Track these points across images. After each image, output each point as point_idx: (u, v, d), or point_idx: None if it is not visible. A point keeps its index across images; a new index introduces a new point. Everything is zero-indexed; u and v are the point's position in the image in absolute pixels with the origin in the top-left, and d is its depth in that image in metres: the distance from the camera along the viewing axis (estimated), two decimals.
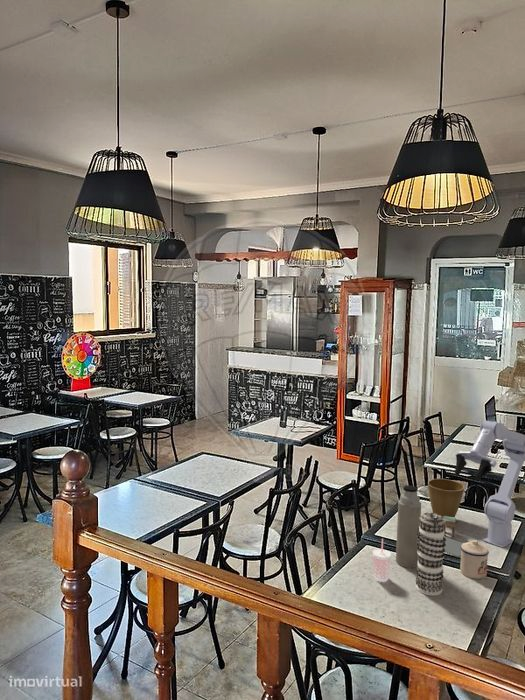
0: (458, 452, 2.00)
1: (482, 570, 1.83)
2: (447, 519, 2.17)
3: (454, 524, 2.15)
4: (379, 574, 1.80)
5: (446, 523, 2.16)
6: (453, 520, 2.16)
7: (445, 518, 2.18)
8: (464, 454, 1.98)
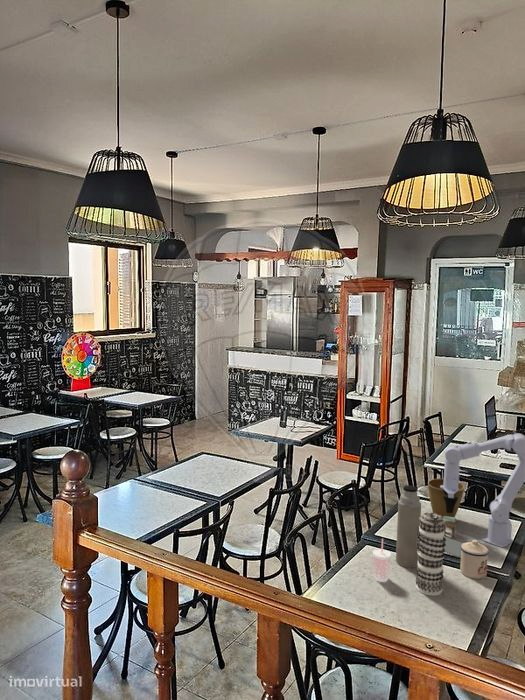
0: None
1: (482, 570, 1.83)
2: (447, 519, 2.17)
3: (454, 524, 2.15)
4: (379, 574, 1.80)
5: (446, 523, 2.16)
6: (453, 520, 2.16)
7: (445, 518, 2.18)
8: None
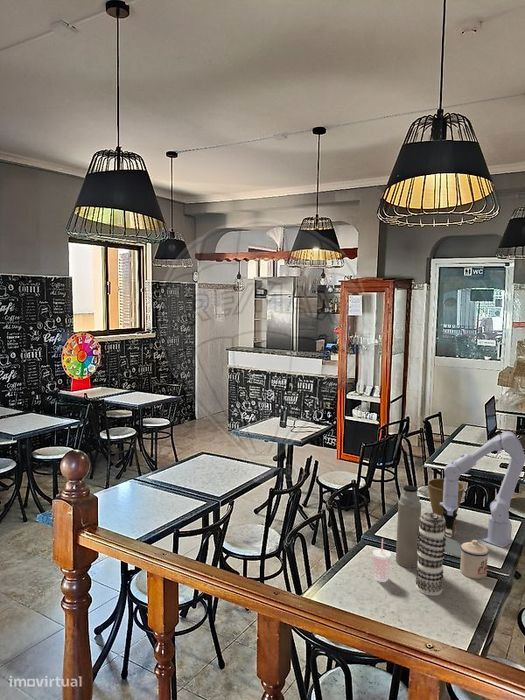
0: None
1: (482, 570, 1.83)
2: None
3: (454, 524, 2.15)
4: (379, 574, 1.80)
5: None
6: None
7: None
8: None
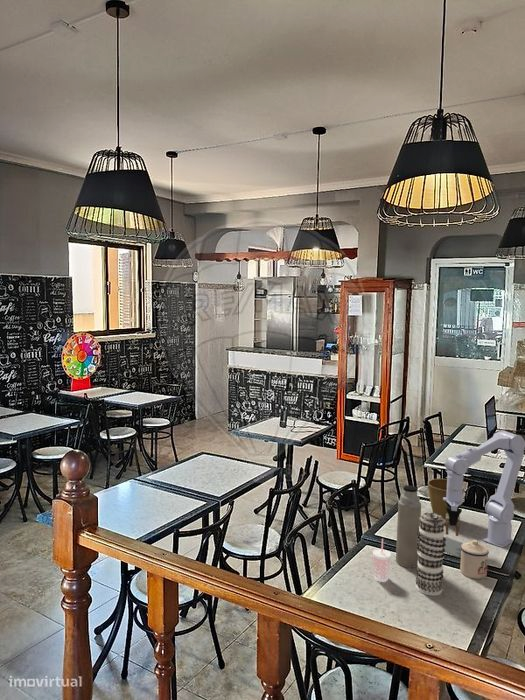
0: None
1: (482, 570, 1.83)
2: None
3: (458, 522, 2.03)
4: (379, 574, 1.80)
5: None
6: None
7: (448, 516, 2.06)
8: None
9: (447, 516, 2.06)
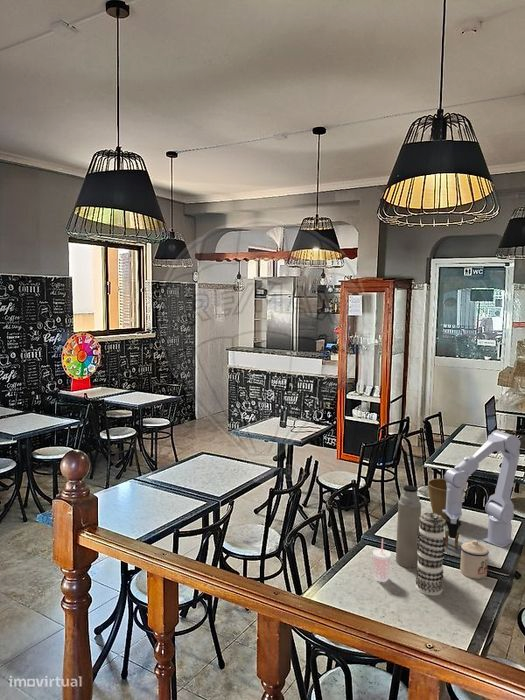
0: None
1: (482, 570, 1.83)
2: None
3: (457, 535, 2.03)
4: (379, 574, 1.80)
5: None
6: None
7: (447, 528, 2.06)
8: None
9: (446, 528, 2.06)
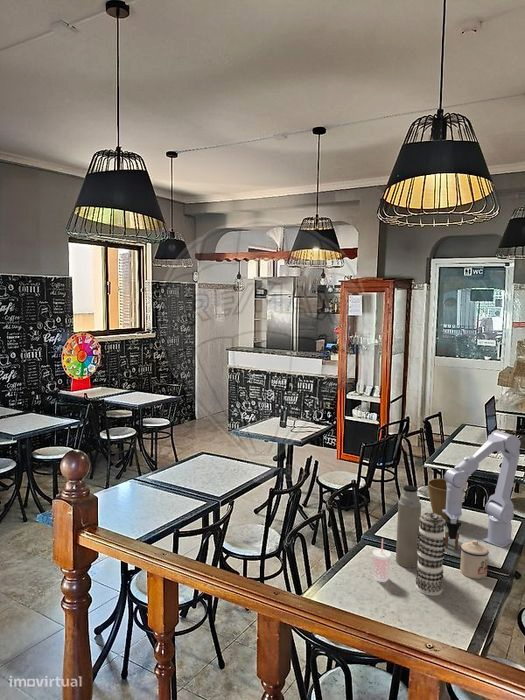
0: None
1: (482, 570, 1.83)
2: None
3: (457, 536, 2.03)
4: (379, 574, 1.80)
5: None
6: None
7: None
8: None
9: (446, 529, 2.06)
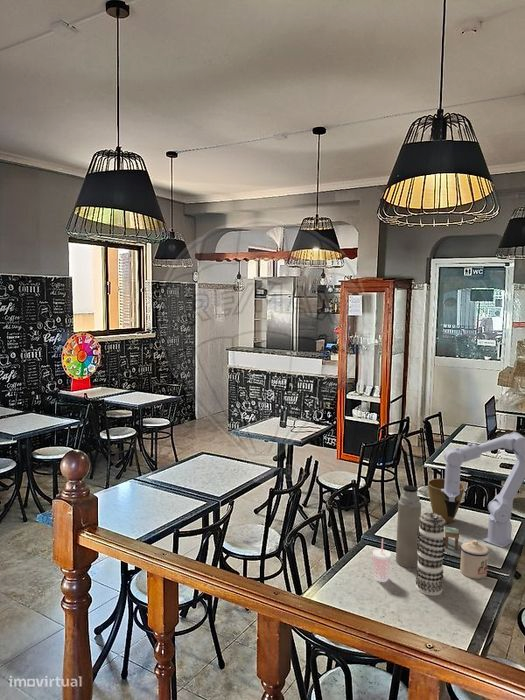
0: None
1: (482, 570, 1.83)
2: (450, 530, 2.06)
3: (457, 536, 2.03)
4: (379, 574, 1.80)
5: (449, 535, 2.04)
6: (456, 532, 2.04)
7: (448, 529, 2.06)
8: None
9: (446, 529, 2.06)
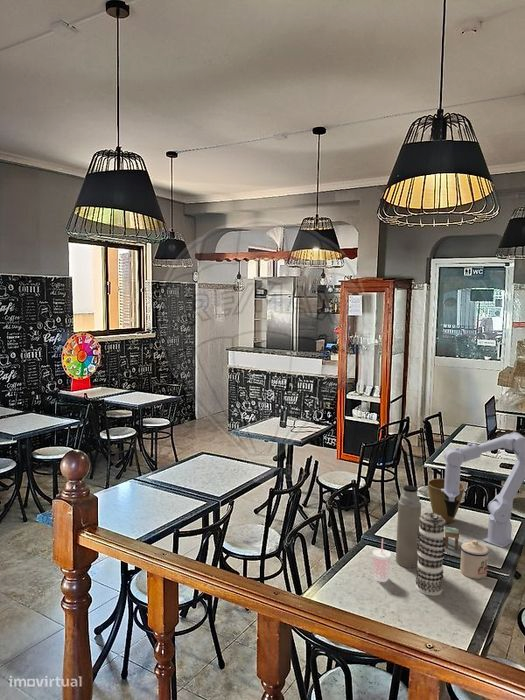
0: None
1: (482, 570, 1.83)
2: (450, 530, 2.06)
3: (457, 536, 2.03)
4: (379, 574, 1.80)
5: (449, 535, 2.04)
6: (456, 532, 2.04)
7: (448, 529, 2.06)
8: None
9: (446, 529, 2.06)
